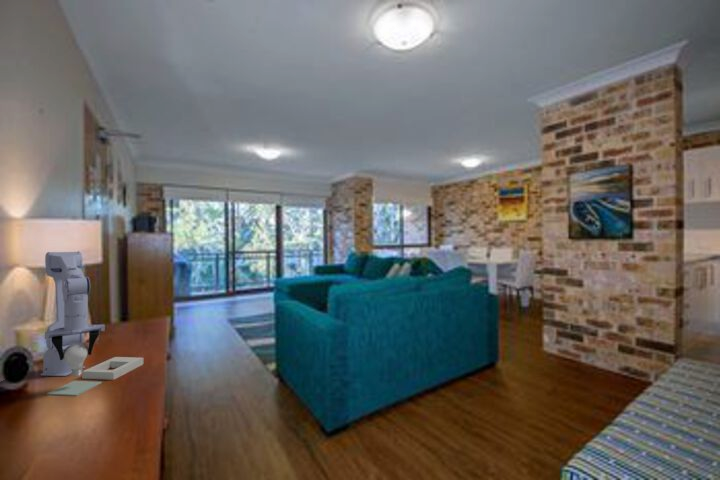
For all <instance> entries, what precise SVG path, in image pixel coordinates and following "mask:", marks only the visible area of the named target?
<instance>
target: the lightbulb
mask: <svg viewBox="0 0 720 480" xmlns="http://www.w3.org/2000/svg"><path fill="white" fill-rule="evenodd" d="M88 353H89V346H88V345H86V344H85V343H84V342H82V343H74V344H71V345H69V346H68V347H67V348H66V349H65V350H64V352H63V358H64V360H65V361H66V362H67V363H68V364H69V366H70V368H71V371H72V373H71V374H70V376H71V377H75V378H77V377H78V378H79V376H82V371H83V369H82V366H84V362H85V360H86V359H87V357H88V356H89V354H88Z"/></svg>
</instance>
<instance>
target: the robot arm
mask: <svg viewBox="0 0 720 480" xmlns="http://www.w3.org/2000/svg"><path fill="white" fill-rule="evenodd" d="M44 256H45V257H44V258H45V261H44V262H45V263H44V264H45V265H44V266H45V273H46V276H47V277H50V278H52V279H53V281H54V284H55V285H54V286H55V307H56V321H55V322H54V323H52V324H50V326H48V327H47V329H46V331H45V332H44V339H45V340H46V348H47V350H46V351H45V352H44V353H43V354H44V355H43V359H42V360H43V363H42V365H43V367H42V368H43V369H42V370H43V373H40V376H50V377H51V376H52V377H67V376H69V375H71V374H72V371H71V368H70V366H69V364H68V363H67V362H66V361H65V360H64V358H63V352H64V350H65V349H66V348H67V347H68V346H69V345H71V344H74V343H84V341H85V334H88V339H89V341H88V349H89V353H88V356H91V355H92V352H93V348H94V346H95V343H96V341H97V339H98V338H99V335H100V332H105V329H106V324H105V323H104V324H92V325H89V323H88V321H89V319H88V318H89V317H88V315H89V313H88V311H89V309H88V308H89V307H88V306H89V305H88V304H89V303H88V302H89V298H88V297H89V296H88V295H90V291H91V280H90V278H89V276H85V275H84V272H83V270H82V265H83V253H82V252H81V251H80V250H79V251H59V252H58V251H53V252H52V251H51V252H50V251H47V252H46V253H45V255H44ZM84 368H86V366H85V365H83V366H82V370H83V369H84Z"/></svg>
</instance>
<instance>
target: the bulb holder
mask: <svg viewBox="0 0 720 480" xmlns="http://www.w3.org/2000/svg"><path fill="white" fill-rule="evenodd" d="M143 365H144V357H134V356H133V357H130V356H114V357H111V358H109V359H107V360H105V361H102V362H100V363H98V364H96V365H93V366H91V367H89V368H87V369H85V370H82V374H81V379H82V380H107V381H108V380H110V381H112V380H116V379H118V378H120V377H122V376H124V375H126V374H127V373H129V372H131V371H134V370H135V369H137V368H139V367H141V366H143Z"/></svg>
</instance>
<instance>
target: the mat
mask: <svg viewBox="0 0 720 480" xmlns="http://www.w3.org/2000/svg"><path fill="white" fill-rule="evenodd" d="M102 383H103V381H93V380H91V381H90V380H89V381H87V380H85V381H84V380H73V381H70V382H68V383H66V384H65V385H62V386H60V387H58V388H56V389H53V390H51V391H49V392H47V393H46V395H48V396H65V397H66V396H71V397H72V396H73V397H79V396H80V395H81V394H83V393H85V392H87V391H89V390H91V389H93V388H95V387H97V386H99V385H101V384H102Z"/></svg>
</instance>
